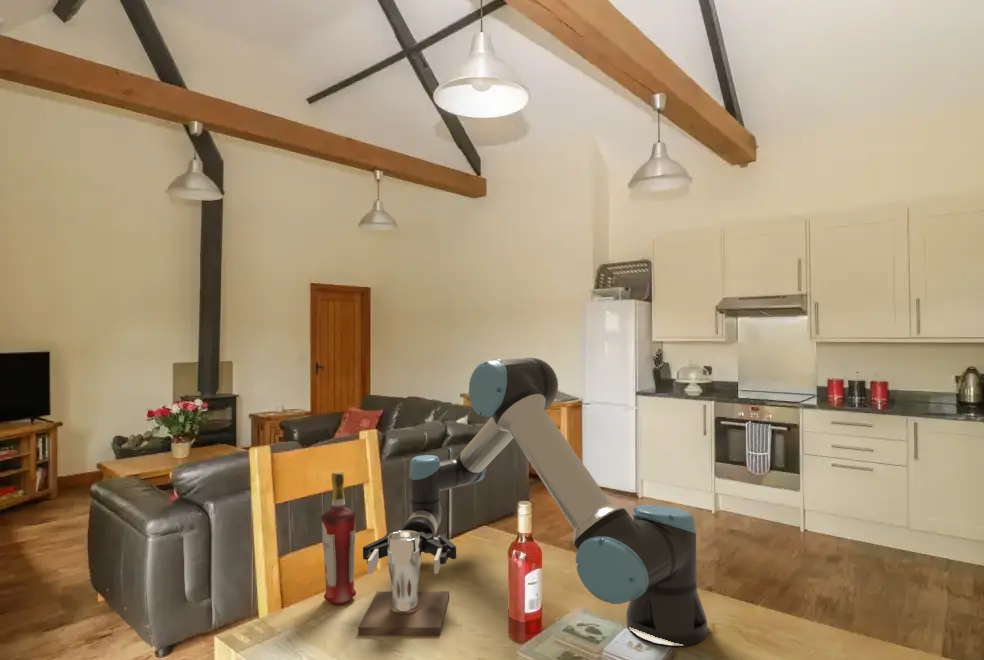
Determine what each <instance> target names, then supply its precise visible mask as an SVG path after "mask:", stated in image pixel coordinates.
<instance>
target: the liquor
mask: <svg viewBox="0 0 984 660" xmlns="http://www.w3.org/2000/svg"><path fill="white" fill-rule="evenodd" d="M344 483H345V471H334V472H332V473H331V486H332V496H331V508H329V509H327V510H325V512H324V513H322V515H321V536H322V548H323V557H324V558H323V559H324V560H323V561H324V577H325V579H324V580H325V581H324V582H325V593H324V594H323V599H324V600H326V601H327V602H328V603H329V604H331V605H332V606H343V605H346V604H348V603H350V602H351V601H352V599H354V597H355V596H356V594H357V591H356V589H355V547H356V546H355V545H356V519H357V518H356V517H357V516H356V512H355V511H354V510H353V509H351V508H349V507H346V500H345V492H344Z"/></svg>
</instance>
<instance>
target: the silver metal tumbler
mask: <svg viewBox="0 0 984 660" xmlns="http://www.w3.org/2000/svg"><path fill="white" fill-rule="evenodd" d="M388 534H389V536H388V548H387V556H386V557H387V567H388V574H389V579H390V584H391V591H392V600H391V607H390V609H391V611H392V612H394V613H396V614H410V613H413V612H415V611H417V610H418V609H419V608H420V601H419V597H418V591H419V590H418V589H419V579H420V573H421V566H422V552H421V544H420V534H419V533H418V532H416V531H412V530H403V529H402V530H397V531H394V532H391V533H388Z"/></svg>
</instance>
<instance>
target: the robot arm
mask: <svg viewBox="0 0 984 660" xmlns="http://www.w3.org/2000/svg"><path fill="white" fill-rule="evenodd" d="M558 391H559V381H558V377H557V374H556V372H555V370H554V368H552V367H551V365H550V364H548V363H547V362H546V361H545V360H542V359H540V358H535V357H525V358H511V359H509V358H507V359H499V358H498V359H497V358H496V359H492V360H486V361H483V362H481V363H479V364H478V365H477V366H476V367H475V369H474V370H473V372H472V373H471V375H470V378H469V383H468V399H469V402H470V405H471V407H472V409H473V411H474V412H475V413H476V414H477V415H479V416H480V417H481V416H482V417H484V418H490V419H488V421H487V422H486V423H485V424H484V425H483V427H481V429H480V430H479V431H478V432H477V434H476V435H475V436H473V438H472V439H471V440H470V441H469V443H467V445H466V446H465V447H464V448H463V449H462V450H461V452H460V453H459V454H458V455H457V456H456V457H453V458H449V459H445V460H440V458H439V457H438V456H437V455H432V454H431V455H430V454H425V455H417V456H414V457H413V458H411V460H410V463H409V464H410V465H409V474H408V475H409V476H408V477H409V480H410V481H409V485H410V516H409V517H408V519H407V521H406V522H405V523H404V524H405V525H404V527H403V528H402V530H412V531H416V532H418V533H419V534H420V544H421V553H424V554H430V555H432V556H434V559H433V572H434V573H433V574H439V571H440V569H441V565H445V564H446V563H447V560H448V559H449V558H450V559H451V560H456V559H457V546H456V545H455V544H454V543H453V542H452V541H450V539H448V538H447V536H446V533H440V534H439V535H438V536H436V533H437V530H438V528H439V526H440V524H441V523H442V520H443V509H442V506H441V492H443V491H446V490H448V491H449V490H452V489H455V488H459V487H460V488H461V487H464V486H468V485H474V484H475V483H479V482H480V481H482V480H483V479H484V478H485V476H486V473H487V466H488V465H490V463H491V462H492V461H493V460H494V459H495V458H496V457H497V456H498V455H499V454H500V453H501V452H502V451H503V450H504V449H505V447H507V445H509V443H511V441H512V440H513V439H514V440H515V442H516V443H517V444H518V446H519V448H520V449H521V451H522V452H523V454H524V456H525V457H526V459H527V460H528V461H529V463H530V464H531V466H532V468H533V469H534V471H535V472H536V474H537V476H538V477H539V479H540V480H541V482H542V483H543V485H544V486H545V487H546V489H547V491H548V492H549V494H550V495H551V496H552V499H554V502H555V503H556V504H557V506H558V508H559V509H560V511H561V512H562V514H563V515H564V517H565V518H566V520H567V521H568V523H569V525H570V526H571V527H572V530H574V535H573V540H572V541H573V542H572V543H573V546H574V547H575V549H576V550H577V551H576V555H575V563H576V564H577V566H576V571H577V574H578V577H579V578H580V581H581V582H582V584H583V586H584V587H585V589H586V590H587V591H588V592H590V594H592V595H593V596H594V597H595V598H597V599H598V600H600V601H602V602H604V603H605V602H606V603H609V604H611V605H621V604H625V603H628V605H627V609H626V626H627V628H628V627H631V628H634V629H637V630H639V631H642V632H645V633H647V634H650V635H653V636H655V637H658V638H662V639H665V640H668V641H671V642H674V643H679V644H683V645H686V646H685V647H688V646H693V645H696V644H698V643H700V642H702V641H703V640H705V639H706V638H707V635H708V620H707V616H706V615H707V614H706V613H705V610H704V607H703V605H702V602H701V599H700V598H701V597H700V596H699V593H698V592H699V591H698V586H697V585H698V584H697V537H696V536H697V531H696V520H695V517H694V516H693V515H692V514H691V513H690V512H689V511H686V510H683V509H682V508H677V507H674V506H673V507H672V506H666V505H657V504H641V505H637V506H635V507H634V508H633V513H632V517H631V515H630V514H629V512H628V511H627V510H626V508H625V507H624V506H618V505H614V504H612V502H611V501H610V500H609V498H608V497H607V495H606V494H605V492H603V490H602V489H601V487H600V485H599V484H598V482H597V481H596V480H595V478H594V477H593V476H592V474H591V473H590V471H589V470H588V469H587V467H586V466H585V463H583V461H582V460H581V459H580V457H579V456H578V455H577V453H576V452H575V451H574V449H573V448H572V446H571V445H570V444H569V442H568V441H567V439H566V437H565V436H564V435H563V434H562V432H561V431H560V429H559V428H558V426H557V425H556V424H555V422H554V421H553V420H552V418H551V417H550V415H549V414H548V412H547V410H548V409H549V407H551V405H552V404H553V403H554V401H555V399H556V398H557V395H558ZM389 534H390V533H386V534H385V535H384V536H383V537H380V538H379V539H377V540H375V541H373V542H370V543H369V544H366V545H365V546H363V547H362V559H363V560H366V564H367V574H368V575H372V574H373V572H374V570H375V569H376V567H377V565H378V564H379V562H380V561H379V560H381V559H383V558H385V557H387V548H388V536H389ZM435 536H436V537H435Z"/></svg>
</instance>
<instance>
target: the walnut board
mask: <svg viewBox="0 0 984 660" xmlns="http://www.w3.org/2000/svg"><path fill="white" fill-rule="evenodd" d="M418 597H419V601H420V608H419V609H418V610H417V611H415V612H413V613H410V614H396V613H394V612H392V611H391V609H390V607H391V600H392V590H391V591H388V590H387V591H376V593H375V595H374V597H373V599H372V600H371V602H370V605H369V606H368V608H367V610H366V612H365V614H364V616H363V618H362V620H361V621H360V623H359V625H358V627H357V633H358V634H357V635H358V636H441V635H442V634H441V633H442V629H443V626H444V621H445V618H446V613H447V609H448V604H449V603H450V602H449V601H450V590H445V591H443V590H440V591H439V590H437V591H435V590H434V591H433V590H432V591H425V590H424V591H423V590H422V591H419V590H418Z"/></svg>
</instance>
